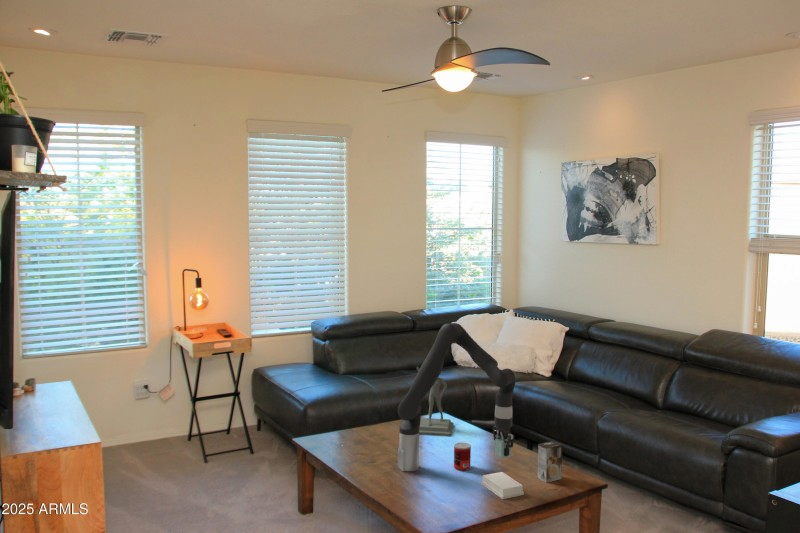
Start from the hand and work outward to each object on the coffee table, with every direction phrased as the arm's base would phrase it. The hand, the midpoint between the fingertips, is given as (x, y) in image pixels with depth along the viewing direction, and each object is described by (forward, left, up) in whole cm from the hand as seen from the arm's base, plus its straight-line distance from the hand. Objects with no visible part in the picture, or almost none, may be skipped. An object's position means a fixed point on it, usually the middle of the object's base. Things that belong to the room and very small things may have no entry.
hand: (502, 453), depth 287 cm
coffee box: (+26, +1, -16) cm, 31 cm away
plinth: (0, 0, -16) cm, 16 cm away
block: (0, 0, -1) cm, 1 cm away
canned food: (-4, +28, -16) cm, 33 cm away
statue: (+9, +82, -16) cm, 84 cm away
